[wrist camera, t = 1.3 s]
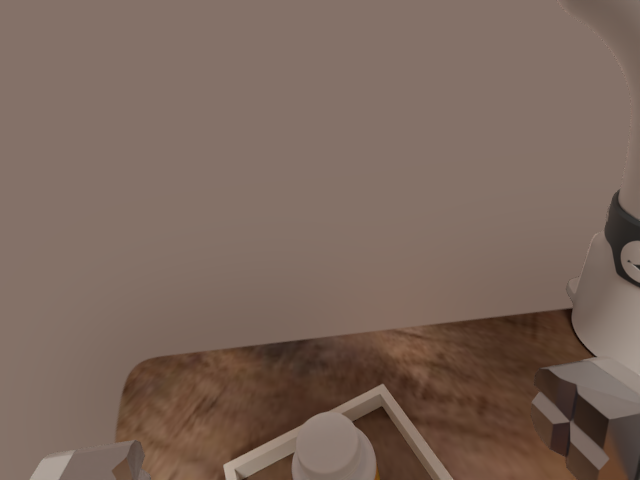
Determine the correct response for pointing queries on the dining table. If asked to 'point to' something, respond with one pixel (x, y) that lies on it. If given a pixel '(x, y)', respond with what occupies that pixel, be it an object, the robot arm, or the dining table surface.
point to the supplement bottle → (333, 450)
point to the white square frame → (353, 411)
